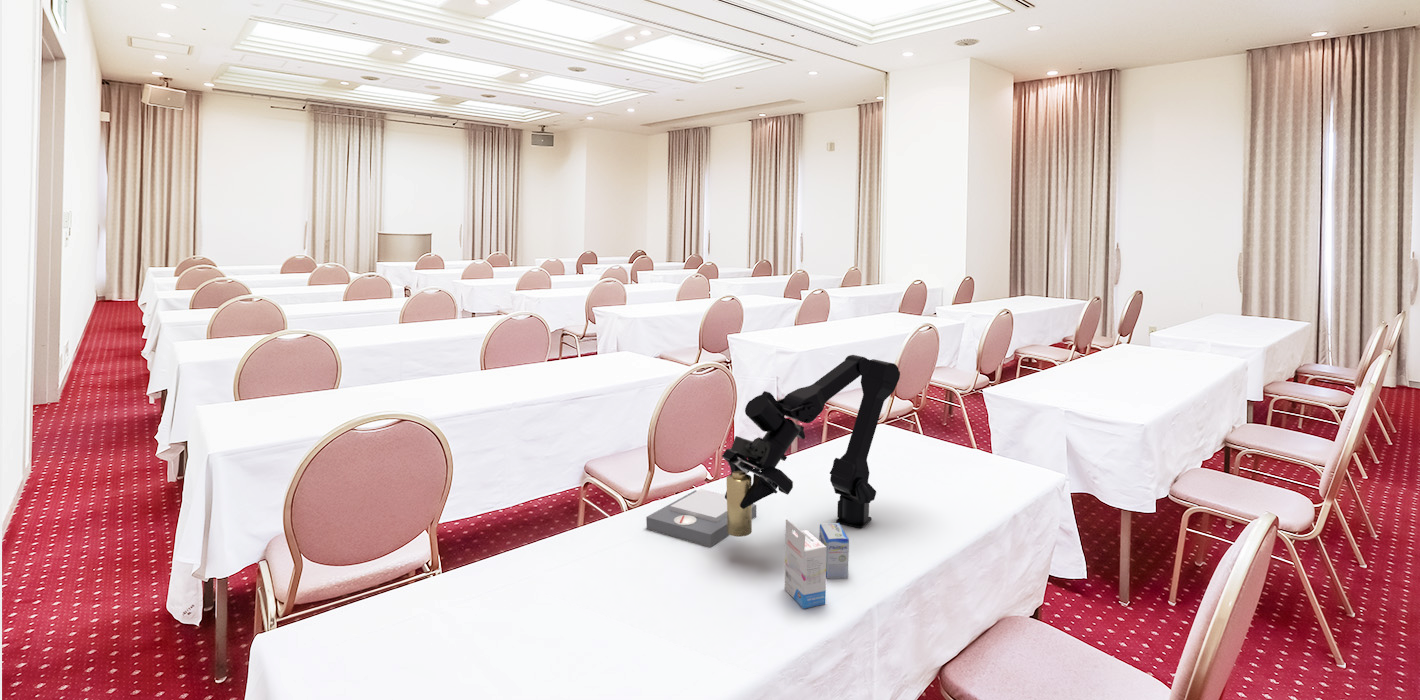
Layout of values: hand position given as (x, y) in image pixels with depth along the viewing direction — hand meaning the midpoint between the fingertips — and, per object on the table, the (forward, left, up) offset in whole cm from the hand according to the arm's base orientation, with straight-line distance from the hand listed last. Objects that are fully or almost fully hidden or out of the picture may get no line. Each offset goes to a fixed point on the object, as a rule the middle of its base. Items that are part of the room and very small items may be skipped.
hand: (733, 503), depth 157 cm
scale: (+16, -12, -13) cm, 24 cm away
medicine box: (-20, -7, -13) cm, 25 cm away
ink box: (-20, +6, -13) cm, 24 cm away
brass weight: (-1, -1, -7) cm, 7 cm away
